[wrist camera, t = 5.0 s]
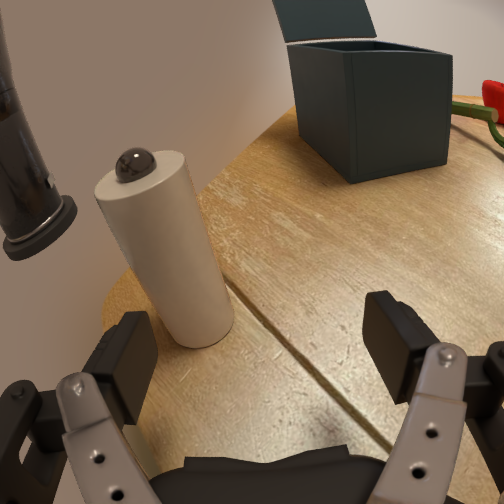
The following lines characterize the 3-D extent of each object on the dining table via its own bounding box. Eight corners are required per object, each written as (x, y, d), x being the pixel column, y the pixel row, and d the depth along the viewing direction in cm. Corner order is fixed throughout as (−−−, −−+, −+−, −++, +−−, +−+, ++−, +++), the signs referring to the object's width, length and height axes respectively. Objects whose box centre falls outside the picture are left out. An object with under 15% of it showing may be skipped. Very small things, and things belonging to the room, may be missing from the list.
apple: (507, 116, 43) (509, 82, 38) (527, 132, 37) (531, 94, 32) (473, 111, 46) (475, 74, 41) (491, 126, 39) (495, 85, 34)
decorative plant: (428, 94, 47) (565, 121, 21) (428, 136, 51) (560, 181, 24) (405, 91, 46) (551, 114, 20) (405, 135, 50) (545, 181, 23)
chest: (446, 164, 31) (452, 55, 22) (350, 184, 30) (342, 52, 22) (380, 122, 43) (375, 40, 34) (299, 135, 42) (286, 45, 34)
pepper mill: (156, 327, 21) (70, 170, 13) (200, 285, 23) (142, 128, 15) (202, 360, 18) (110, 181, 10) (248, 310, 21) (198, 129, 13)
